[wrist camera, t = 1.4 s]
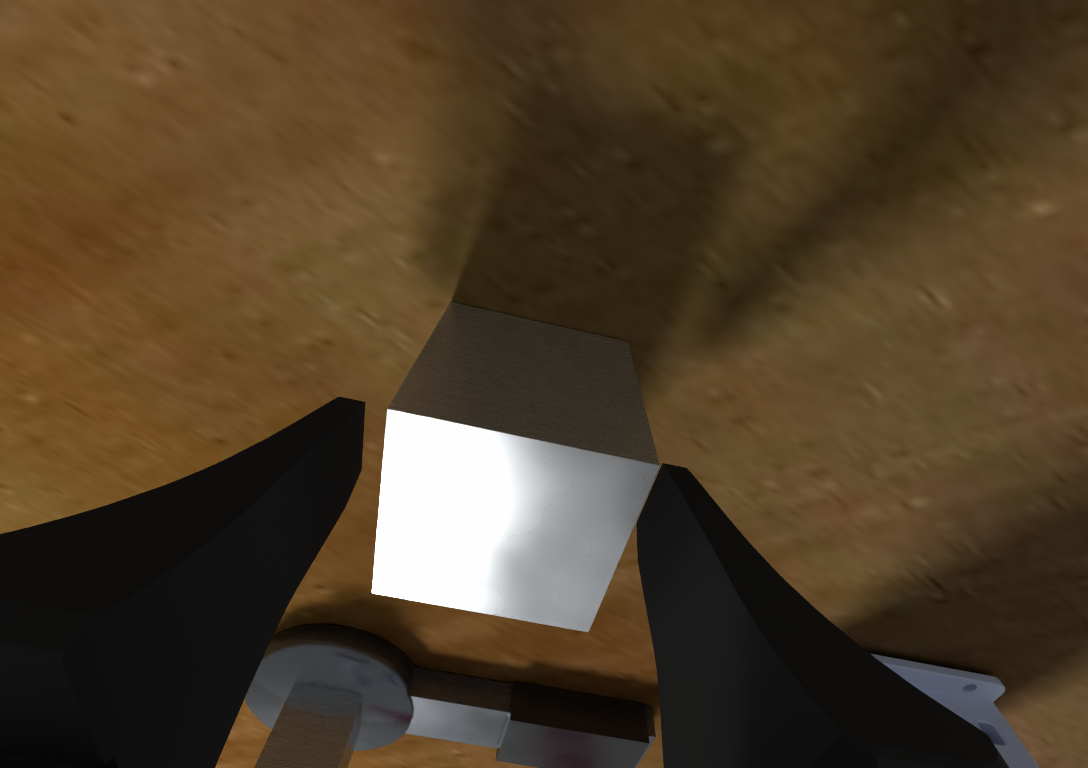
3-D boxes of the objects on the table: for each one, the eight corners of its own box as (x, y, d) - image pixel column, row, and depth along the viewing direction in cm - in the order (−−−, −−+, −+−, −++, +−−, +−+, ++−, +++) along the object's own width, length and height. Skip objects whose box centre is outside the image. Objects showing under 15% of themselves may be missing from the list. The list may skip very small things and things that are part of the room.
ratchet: (666, 682, 22) (688, 807, 18) (619, 761, 25) (628, 880, 21) (257, 610, 20) (185, 728, 17) (265, 704, 24) (207, 819, 20)
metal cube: (627, 341, 14) (659, 465, 9) (582, 477, 16) (588, 632, 12) (450, 301, 14) (387, 409, 9) (430, 446, 16) (371, 593, 11)
